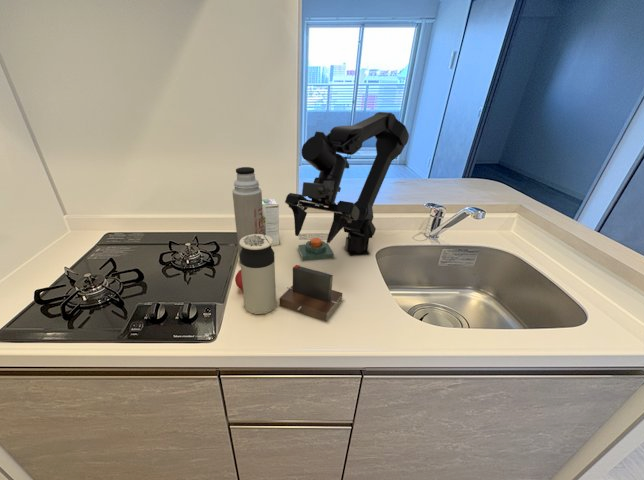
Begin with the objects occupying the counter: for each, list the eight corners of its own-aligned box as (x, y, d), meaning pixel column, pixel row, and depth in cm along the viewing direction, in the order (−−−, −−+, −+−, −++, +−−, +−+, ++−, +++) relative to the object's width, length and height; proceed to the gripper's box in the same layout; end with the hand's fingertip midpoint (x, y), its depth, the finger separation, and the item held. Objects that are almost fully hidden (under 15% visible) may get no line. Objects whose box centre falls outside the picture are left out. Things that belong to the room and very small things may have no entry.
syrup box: (259, 240, 115) (257, 199, 106) (275, 238, 116) (274, 197, 108) (263, 247, 110) (261, 205, 102) (280, 244, 112) (279, 203, 103)
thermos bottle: (270, 260, 102) (266, 167, 86) (253, 270, 97) (245, 173, 81) (251, 253, 106) (244, 163, 90) (234, 263, 101) (223, 169, 85)
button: (320, 242, 106) (320, 237, 105) (322, 247, 103) (322, 242, 102) (309, 243, 105) (309, 238, 104) (311, 248, 102) (311, 243, 101)
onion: (245, 283, 91) (243, 258, 87) (262, 289, 89) (260, 263, 84) (232, 293, 87) (229, 267, 82) (249, 299, 85) (247, 273, 80)
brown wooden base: (347, 297, 85) (348, 289, 84) (324, 327, 75) (325, 318, 74) (299, 283, 91) (299, 275, 90) (273, 309, 81) (272, 301, 80)
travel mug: (246, 316, 79) (239, 250, 68) (243, 298, 85) (237, 234, 75) (278, 312, 80) (276, 246, 70) (273, 295, 86) (270, 232, 76)
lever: (330, 299, 80) (333, 274, 76) (328, 302, 79) (330, 277, 75) (295, 288, 84) (295, 264, 80) (292, 291, 83) (292, 266, 79)
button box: (327, 247, 110) (328, 238, 108) (333, 258, 103) (334, 248, 101) (298, 249, 109) (298, 239, 107) (302, 260, 102) (302, 250, 100)
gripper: (283, 161, 78) (265, 224, 80) (354, 169, 70) (333, 239, 71) (303, 179, 88) (287, 235, 89) (368, 188, 79) (349, 249, 81)
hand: (311, 239), depth 82 cm, fingers open, 9 cm apart
